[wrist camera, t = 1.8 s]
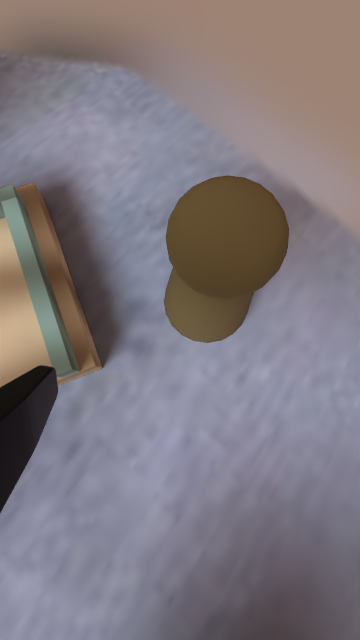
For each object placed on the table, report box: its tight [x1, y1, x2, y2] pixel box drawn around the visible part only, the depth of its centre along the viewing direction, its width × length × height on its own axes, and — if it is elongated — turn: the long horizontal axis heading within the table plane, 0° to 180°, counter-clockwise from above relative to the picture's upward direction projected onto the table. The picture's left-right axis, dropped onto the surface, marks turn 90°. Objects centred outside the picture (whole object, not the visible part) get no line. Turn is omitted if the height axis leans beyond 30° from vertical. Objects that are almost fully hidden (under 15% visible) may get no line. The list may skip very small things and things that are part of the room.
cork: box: [164, 176, 289, 343], centre depth 17 cm, size 6×6×11 cm
